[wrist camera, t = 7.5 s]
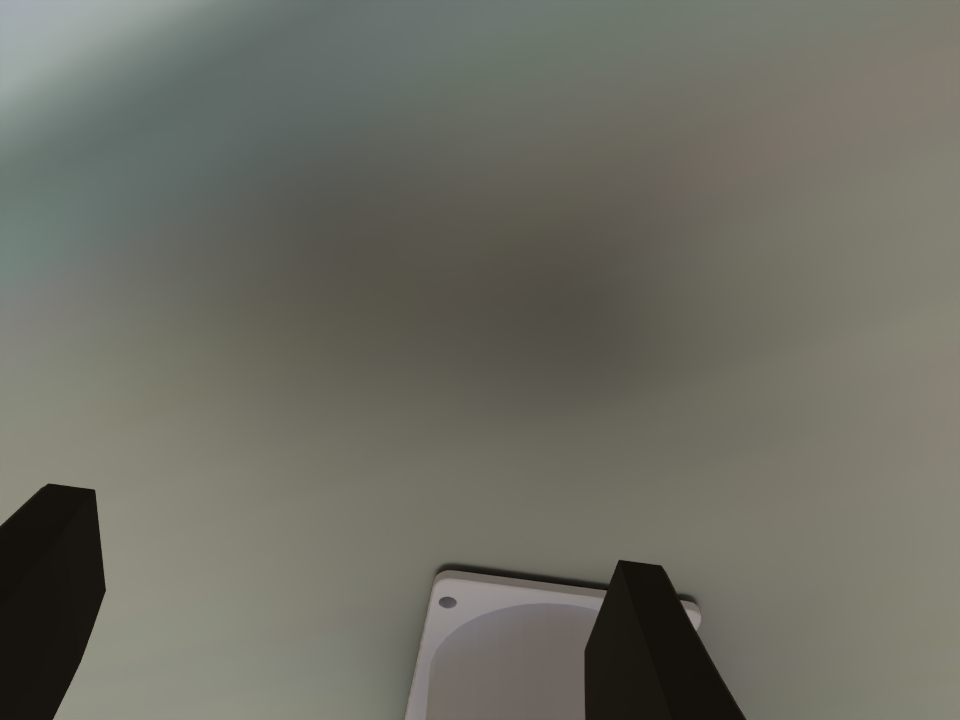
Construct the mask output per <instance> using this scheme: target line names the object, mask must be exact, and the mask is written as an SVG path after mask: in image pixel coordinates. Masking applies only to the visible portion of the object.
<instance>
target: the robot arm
mask: <svg viewBox="0 0 960 720" xmlns="http://www.w3.org/2000/svg"><path fill="white" fill-rule="evenodd" d="M105 591H106V588H105V579H104V569H103V560H102V550H101V541H100V531H99V522H98V513H97V503H96V494H95V490H94V489H86V488H79V487H71V486H64V485H56V484H47V485H46V486H44V487H42V488H41V489H40V490H39V491H38V492H37V493H36V494H34V495H33V496H32V497H31V498H30V499H29V500H28V501H27V502H26V503H25V504H24V505H23V506H22V507H20V508H19V509H18V510H17V511H16V512H15V513H14V514H13V515H12V516H11V517H10V518H9V519H8V520H7V521H5V522H4V523H3V524H2V525H1V526H0V720H53V718H54V716H55V714H56V712H57V710H58V708H59V706H60V704H61V702H62V700H63V698H64V696H65V693H66V691H67V689H68V687H69V685H70V683H71V681H72V679H73V677H74V675H75V673H76V671H77V669H78V666H79V664H80V662H81V660H82V657H83V654H84V651H85V649H86V646H87V643H88V640H89V638H90V635H91V632H92V629H93V626H94V623H95V621H96V618H97V615H98V612H99V609H100V606H101V603H102V600H103V597H104V594H105ZM446 597H452V598H446ZM701 619H702V618H701V613H700V609H699V607H698V606H697V605H696V604H694V603H692V602H688V601H682V600H680V599H679V597H678V595H677V593H676V591H675V589H674V587H673V585H672V583H671V581H670V579H669V577H668V575H667V573H666V572H665V570H664V569H663V567H662V566H660V565H653V564H646V563H638V562H631V561H623V560H619V561H618V564H617V566H616V569H615V572H614V574H613V577H612V579H611V582H610V585H609V587H608V590H607V591H606V590H599V589H591V588H583V587H576V586H568V585H561V584H553V583H545V582H538V581H530V580H523V579H515V578H508V577H500V576H492V575H485V574H477V573H470V572H462V571H454V570H447V571H443V572H440V573H439V574H438V575H436V577H435V579H434V582H433V586H432V591H431V596H430V600H429V605H428V610H427V614H426V619H425V624H424V628H423V633H422V638H421V642H420V647H419V652H418V656H417V661H416V666H415V670H414V675H413V680H412V684H411V689H410V694H409V698H408V703H407V708H406V712H405V717H404V720H746V719H745V717H744V715H743V714H742V712H741V710H740V708H739V707H738V705H737V703H736V702H735V700H734V698H733V696H732V695H731V693H730V691H729V690H728V688H727V686H726V684H725V683H724V681H723V679H722V678H721V676H720V674H719V672H718V671H717V669H716V667H715V665H714V663H713V662H712V660H711V658H710V656H709V654H708V653H707V651H706V649H705V647H704V645H703V643H702V641H701V639H700V638H699V636H698V634H697V632H696V631H697V629H698V627H699V625H700V623H701Z"/></svg>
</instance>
